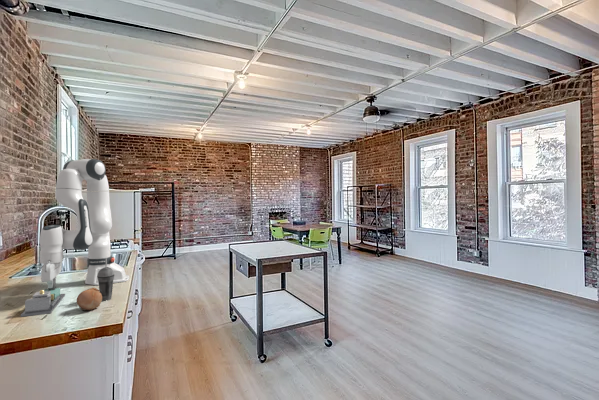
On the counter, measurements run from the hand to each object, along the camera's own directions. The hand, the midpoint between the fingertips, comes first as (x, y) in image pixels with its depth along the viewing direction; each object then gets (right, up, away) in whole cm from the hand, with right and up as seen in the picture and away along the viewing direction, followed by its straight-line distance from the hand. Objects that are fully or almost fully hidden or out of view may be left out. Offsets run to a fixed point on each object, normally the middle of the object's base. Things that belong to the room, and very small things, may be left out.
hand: (51, 286), depth 152 cm
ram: (+1, -5, -3) cm, 6 cm away
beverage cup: (+27, -6, -1) cm, 28 cm away
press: (+5, -6, -10) cm, 12 cm away
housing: (+7, -5, -14) cm, 17 cm away
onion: (+28, -6, -14) cm, 32 cm away
